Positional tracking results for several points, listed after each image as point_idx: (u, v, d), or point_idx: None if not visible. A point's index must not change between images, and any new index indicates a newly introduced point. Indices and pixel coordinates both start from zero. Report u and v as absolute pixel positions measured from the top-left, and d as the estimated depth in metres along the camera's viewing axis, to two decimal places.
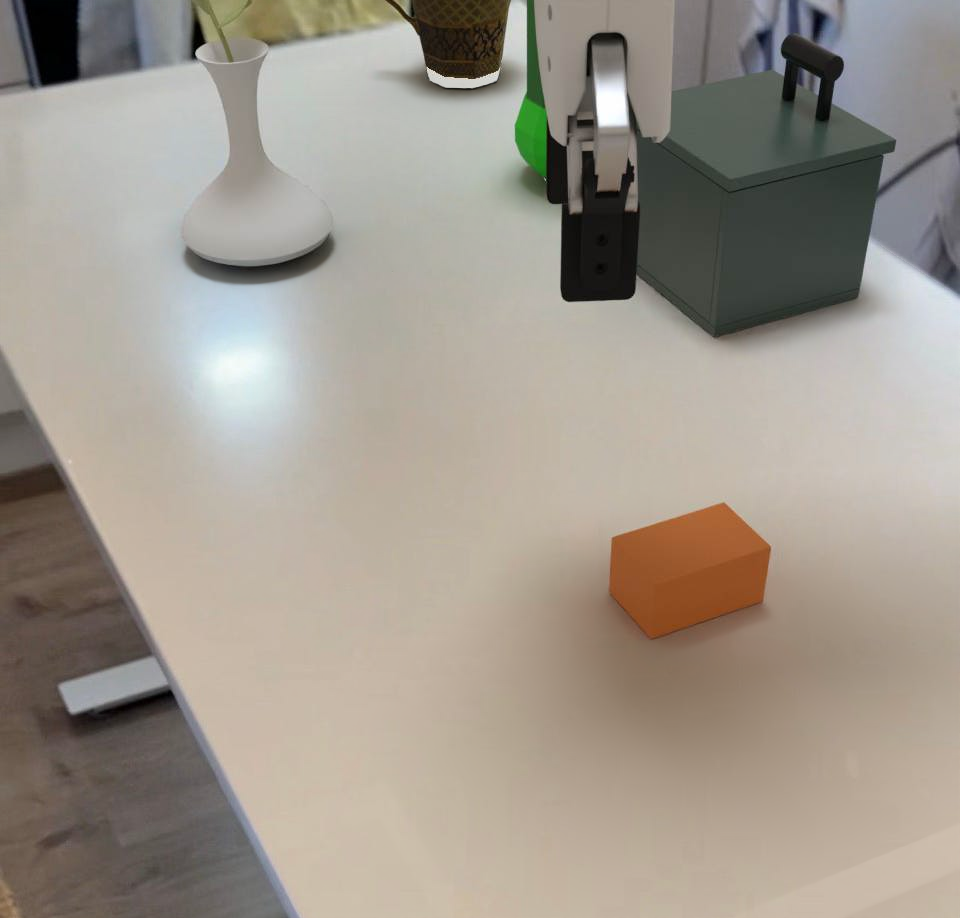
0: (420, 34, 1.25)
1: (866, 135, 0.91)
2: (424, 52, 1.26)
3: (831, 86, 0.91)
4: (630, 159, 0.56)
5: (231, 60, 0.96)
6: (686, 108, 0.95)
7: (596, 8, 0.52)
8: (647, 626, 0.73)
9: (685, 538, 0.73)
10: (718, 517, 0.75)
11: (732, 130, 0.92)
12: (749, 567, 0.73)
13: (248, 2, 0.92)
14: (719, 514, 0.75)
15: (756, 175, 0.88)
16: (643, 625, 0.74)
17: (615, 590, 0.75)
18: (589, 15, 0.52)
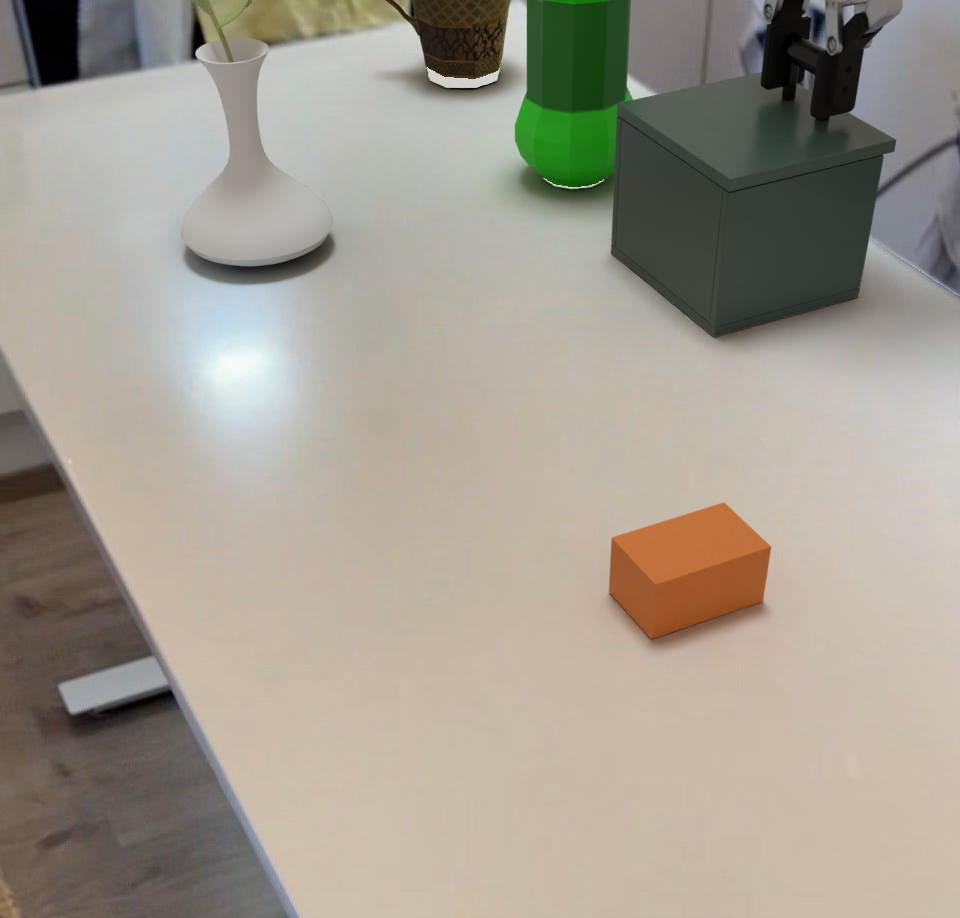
0: (420, 34, 1.25)
1: (866, 135, 0.91)
2: (424, 52, 1.26)
3: None
4: None
5: (231, 60, 0.96)
6: (686, 108, 0.95)
7: None
8: (647, 626, 0.73)
9: (685, 538, 0.73)
10: (718, 517, 0.75)
11: (732, 130, 0.92)
12: (749, 567, 0.73)
13: (248, 2, 0.92)
14: (719, 514, 0.75)
15: (756, 175, 0.88)
16: (643, 625, 0.74)
17: (615, 590, 0.75)
18: None
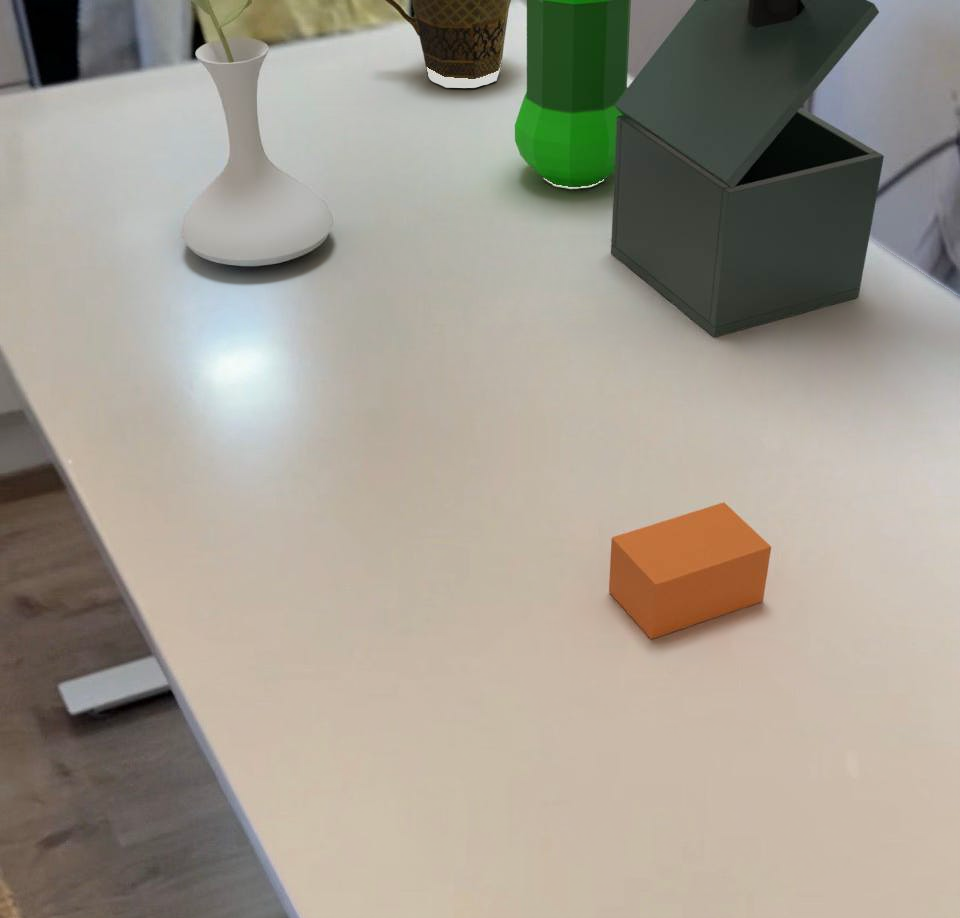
0: (420, 34, 1.25)
1: (844, 14, 0.85)
2: (424, 52, 1.26)
3: None
4: None
5: (231, 60, 0.96)
6: (673, 75, 0.93)
7: None
8: (647, 626, 0.73)
9: (685, 538, 0.73)
10: (718, 517, 0.75)
11: (718, 89, 0.90)
12: (749, 567, 0.73)
13: (248, 2, 0.92)
14: (719, 514, 0.75)
15: (749, 156, 0.87)
16: (643, 625, 0.74)
17: (615, 590, 0.75)
18: None
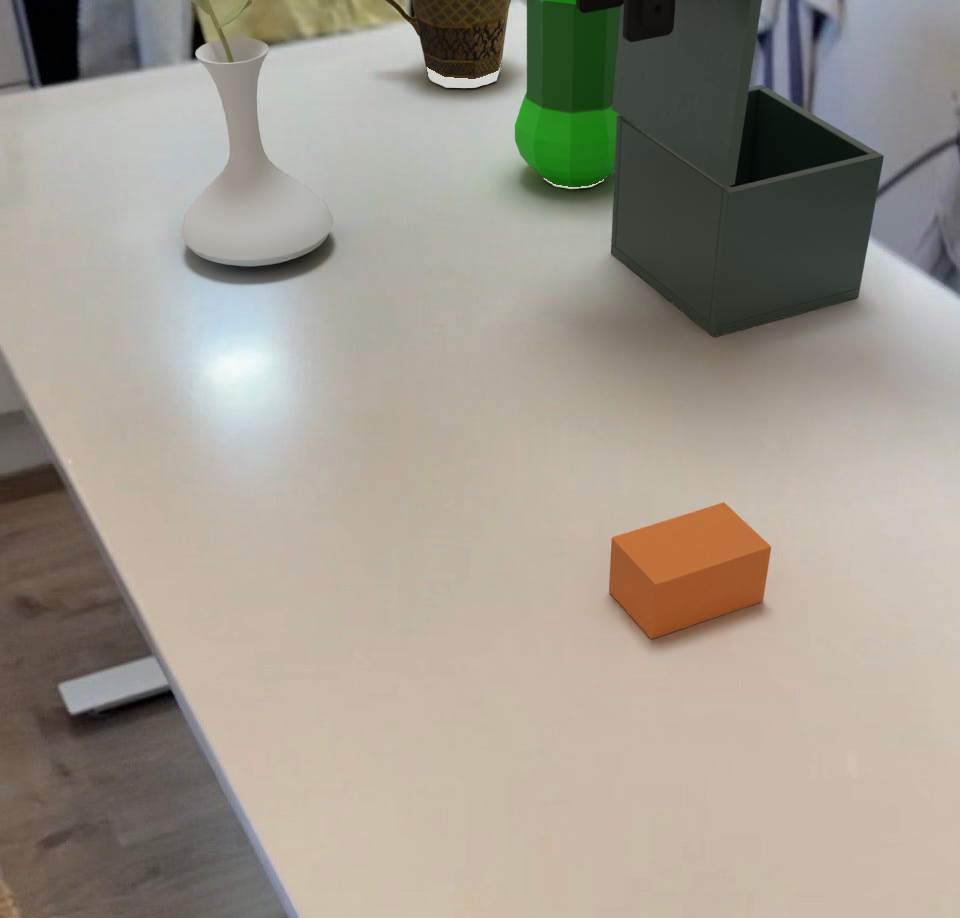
0: (420, 34, 1.25)
1: None
2: (424, 52, 1.26)
3: None
4: None
5: (231, 60, 0.96)
6: (641, 68, 0.92)
7: None
8: (647, 626, 0.73)
9: (685, 538, 0.73)
10: (718, 517, 0.75)
11: (679, 80, 0.88)
12: (749, 567, 0.73)
13: (248, 2, 0.92)
14: (719, 514, 0.75)
15: (730, 153, 0.86)
16: (643, 625, 0.74)
17: (615, 590, 0.75)
18: None
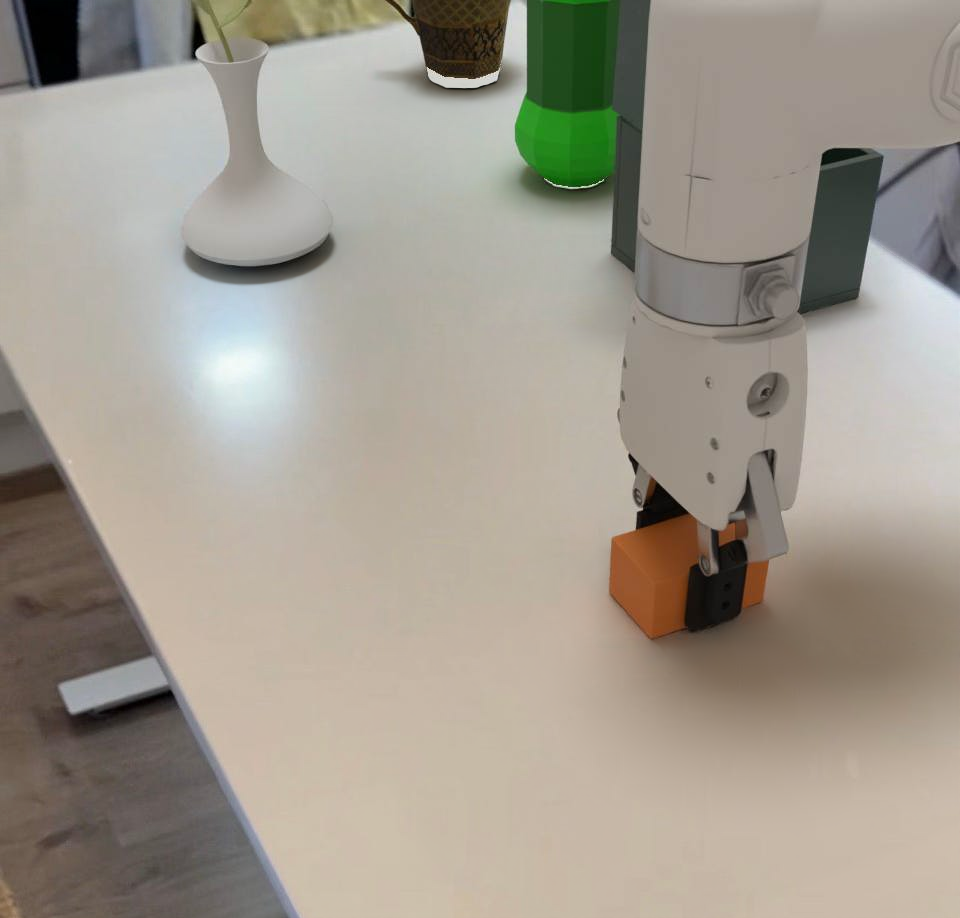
0: (420, 34, 1.25)
1: None
2: (424, 52, 1.26)
3: None
4: None
5: (231, 60, 0.96)
6: (640, 68, 0.92)
7: (756, 436, 0.63)
8: (647, 626, 0.73)
9: (685, 538, 0.73)
10: None
11: None
12: (749, 567, 0.73)
13: (248, 2, 0.92)
14: None
15: None
16: (643, 625, 0.74)
17: (615, 590, 0.75)
18: (751, 442, 0.63)
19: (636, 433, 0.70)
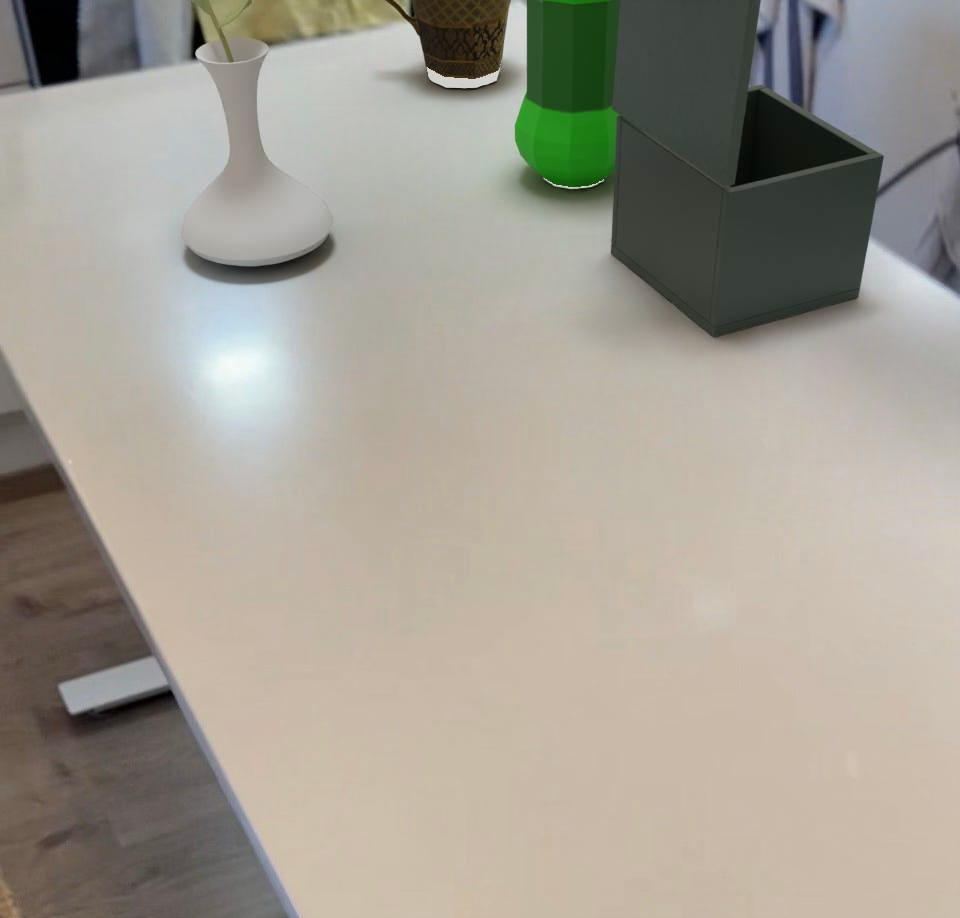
0: (420, 34, 1.25)
1: None
2: (424, 52, 1.26)
3: None
4: None
5: (231, 60, 0.96)
6: (640, 68, 0.92)
7: None
8: None
9: None
10: None
11: (679, 80, 0.88)
12: None
13: (248, 2, 0.92)
14: None
15: (730, 153, 0.86)
16: None
17: None
18: None
19: None
